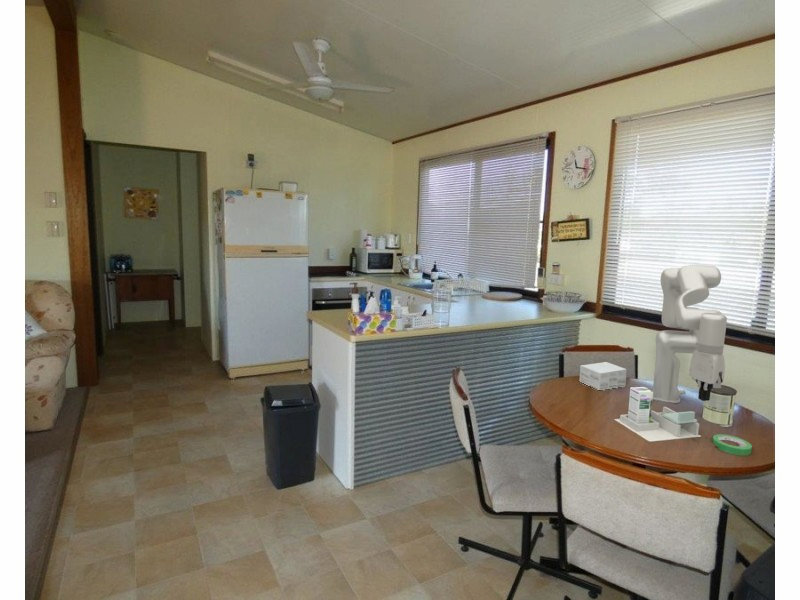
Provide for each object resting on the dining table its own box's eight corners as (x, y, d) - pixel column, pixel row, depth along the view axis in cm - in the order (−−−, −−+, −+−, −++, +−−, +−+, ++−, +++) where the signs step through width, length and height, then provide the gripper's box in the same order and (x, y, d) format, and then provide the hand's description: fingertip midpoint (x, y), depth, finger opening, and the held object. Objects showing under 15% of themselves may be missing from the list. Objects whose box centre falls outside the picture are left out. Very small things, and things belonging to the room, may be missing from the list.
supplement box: (604, 379, 229) (606, 361, 227) (625, 387, 216) (627, 369, 215) (578, 382, 223) (579, 364, 221) (598, 391, 211) (600, 372, 209)
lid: (681, 413, 171) (682, 404, 170) (696, 421, 164) (698, 412, 163) (661, 415, 169) (662, 406, 169) (677, 423, 162) (678, 413, 162)
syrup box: (636, 428, 169) (640, 391, 167) (626, 421, 175) (630, 386, 173) (650, 427, 170) (654, 391, 168) (640, 421, 176) (643, 385, 173)
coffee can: (697, 414, 185) (701, 382, 182) (727, 418, 181) (731, 385, 179) (705, 425, 175) (709, 390, 173) (736, 429, 172) (741, 394, 170)
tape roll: (752, 447, 158) (753, 440, 157) (749, 459, 149) (750, 452, 149) (714, 437, 165) (715, 431, 164) (709, 448, 157) (710, 441, 156)
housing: (661, 417, 182) (662, 404, 181) (701, 438, 163) (702, 424, 162) (613, 421, 177) (615, 408, 176) (649, 444, 159) (650, 429, 158)
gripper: (682, 344, 160) (677, 393, 162) (720, 355, 145) (713, 408, 148) (700, 343, 161) (694, 391, 164) (739, 354, 147) (732, 407, 149)
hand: (703, 399), depth 156 cm, fingers closed
